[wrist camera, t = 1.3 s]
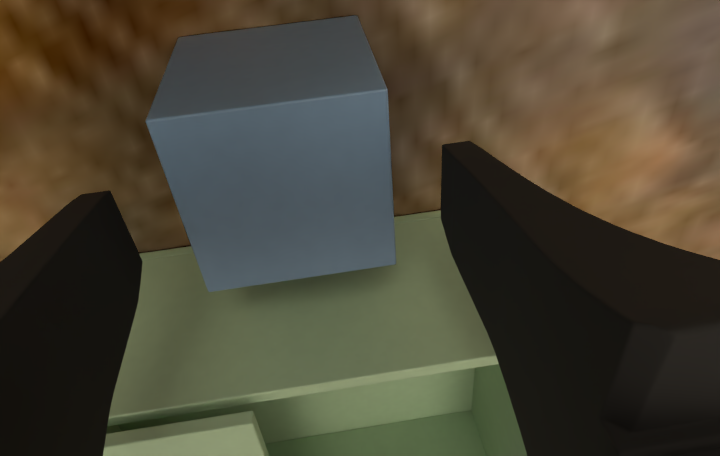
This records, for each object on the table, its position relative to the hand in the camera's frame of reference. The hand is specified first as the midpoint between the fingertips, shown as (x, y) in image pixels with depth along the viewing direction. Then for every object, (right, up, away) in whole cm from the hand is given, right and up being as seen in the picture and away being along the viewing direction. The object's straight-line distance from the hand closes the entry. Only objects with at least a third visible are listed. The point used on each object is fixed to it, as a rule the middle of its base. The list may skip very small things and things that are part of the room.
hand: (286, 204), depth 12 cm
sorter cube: (-1, +3, +4) cm, 5 cm away
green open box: (-1, -6, +11) cm, 12 cm away
